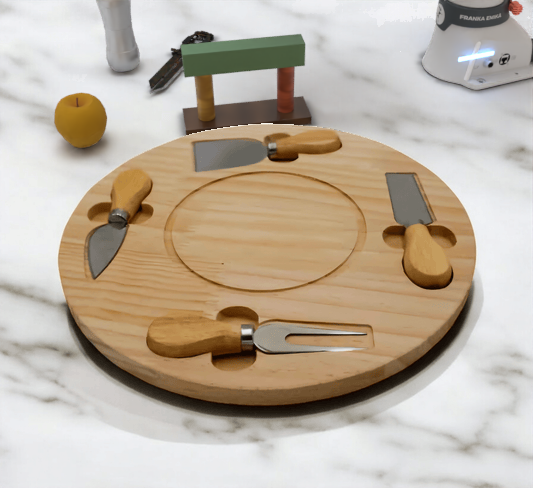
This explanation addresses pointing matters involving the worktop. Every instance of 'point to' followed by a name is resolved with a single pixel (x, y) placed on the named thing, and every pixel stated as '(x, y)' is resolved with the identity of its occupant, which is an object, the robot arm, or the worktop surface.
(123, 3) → the plastic bottle
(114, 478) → the worktop surface
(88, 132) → the apple
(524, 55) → the robot arm
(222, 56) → the bar
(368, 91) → the worktop surface
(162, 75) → the knife
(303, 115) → the rods
